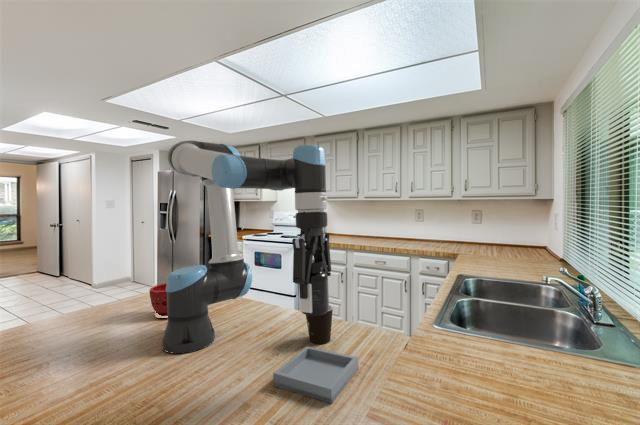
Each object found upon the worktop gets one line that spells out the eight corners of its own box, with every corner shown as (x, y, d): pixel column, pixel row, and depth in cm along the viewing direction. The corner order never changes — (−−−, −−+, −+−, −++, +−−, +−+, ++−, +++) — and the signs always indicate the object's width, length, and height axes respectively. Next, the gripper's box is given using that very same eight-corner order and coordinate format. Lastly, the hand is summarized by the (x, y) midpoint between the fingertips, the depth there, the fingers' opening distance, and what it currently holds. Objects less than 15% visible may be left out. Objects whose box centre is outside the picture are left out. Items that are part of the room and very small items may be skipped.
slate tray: (273, 385, 71) (273, 373, 71) (307, 357, 84) (306, 346, 84) (331, 403, 64) (331, 389, 64) (358, 369, 77) (358, 357, 77)
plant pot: (156, 312, 127) (154, 283, 127) (189, 308, 130) (188, 280, 130) (146, 323, 114) (144, 291, 114) (184, 319, 118) (182, 288, 117)
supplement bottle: (307, 305, 78) (305, 258, 78) (332, 307, 75) (331, 259, 75) (296, 314, 71) (294, 263, 71) (323, 317, 69) (321, 264, 69)
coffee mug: (331, 347, 90) (330, 313, 89) (302, 345, 91) (301, 312, 91) (337, 331, 101) (336, 301, 101) (311, 330, 103) (310, 300, 102)
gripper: (302, 211, 63) (306, 323, 63) (342, 209, 80) (345, 297, 80) (273, 212, 66) (277, 318, 67) (317, 210, 84) (320, 294, 84)
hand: (314, 306), depth 73 cm, fingers closed on supplement bottle, 7 cm apart
